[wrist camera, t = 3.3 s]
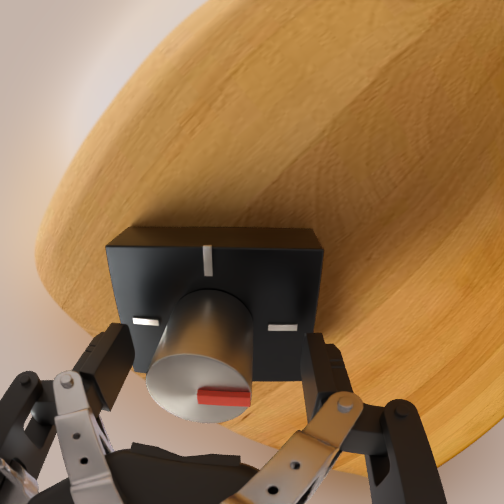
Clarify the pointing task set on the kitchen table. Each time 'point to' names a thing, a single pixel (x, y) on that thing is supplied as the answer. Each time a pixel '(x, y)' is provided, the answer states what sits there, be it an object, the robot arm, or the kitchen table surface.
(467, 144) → the kitchen table surface
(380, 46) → the kitchen table surface
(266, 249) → the dial panel
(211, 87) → the kitchen table surface
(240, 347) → the dial
